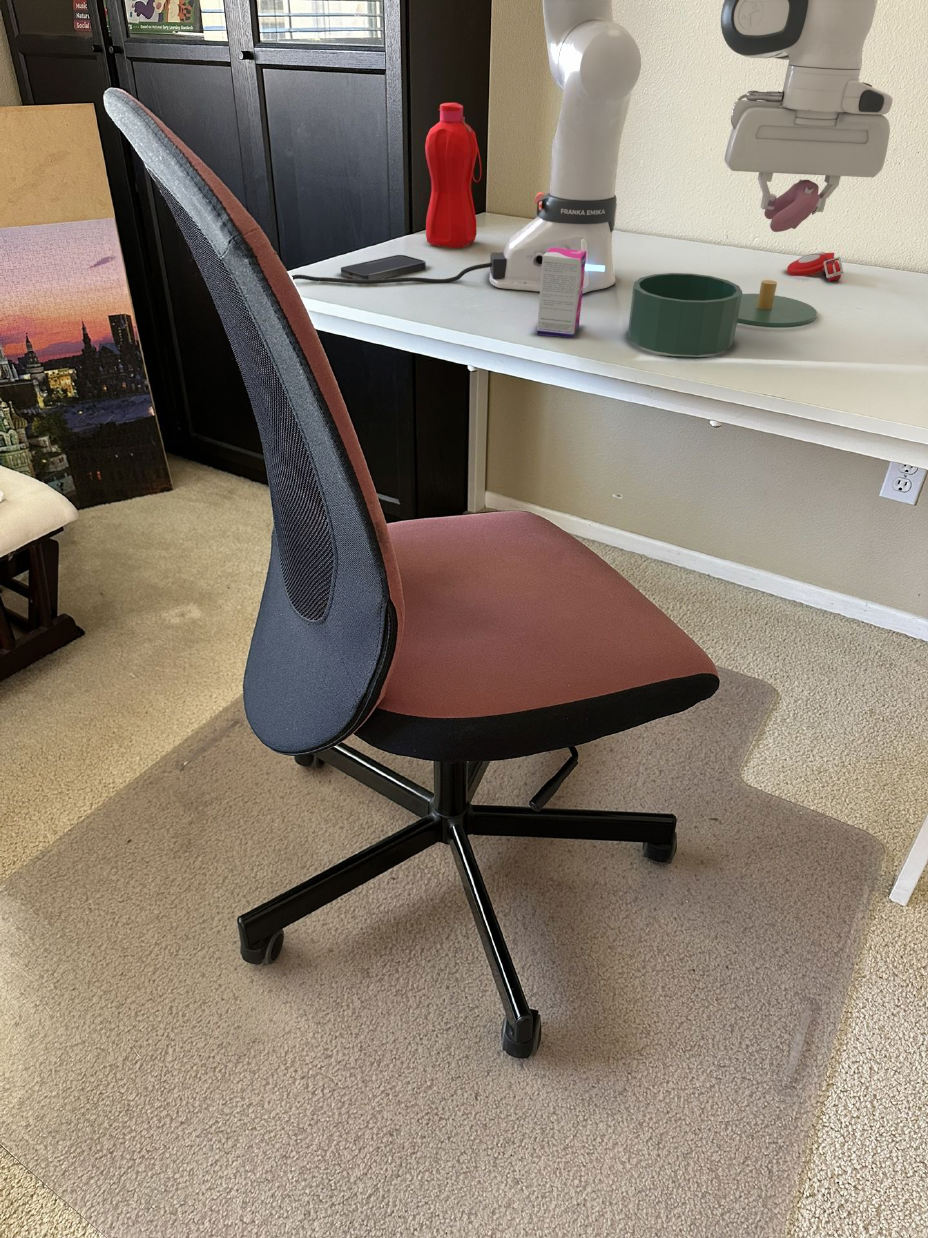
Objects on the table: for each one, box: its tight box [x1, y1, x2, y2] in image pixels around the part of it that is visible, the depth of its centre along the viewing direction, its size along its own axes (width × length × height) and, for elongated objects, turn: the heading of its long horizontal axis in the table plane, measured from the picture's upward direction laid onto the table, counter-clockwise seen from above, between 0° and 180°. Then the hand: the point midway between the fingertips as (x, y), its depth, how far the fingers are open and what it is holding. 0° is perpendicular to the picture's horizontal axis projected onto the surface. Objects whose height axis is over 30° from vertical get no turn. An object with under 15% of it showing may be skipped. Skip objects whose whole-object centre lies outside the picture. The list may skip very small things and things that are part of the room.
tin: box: [627, 272, 743, 360], centre depth 132 cm, size 15×15×8 cm
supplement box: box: [536, 248, 587, 339], centre depth 135 cm, size 6×6×12 cm
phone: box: [340, 254, 427, 280], centre depth 165 cm, size 8×1×15 cm
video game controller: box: [764, 178, 820, 233], centre depth 122 cm, size 10×5×7 cm, turn 170°
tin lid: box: [737, 279, 818, 328], centre depth 144 cm, size 16×16×5 cm
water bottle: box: [424, 102, 482, 249], centre depth 176 cm, size 9×11×25 cm
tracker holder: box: [786, 251, 845, 282], centre depth 164 cm, size 12×4×10 cm
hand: (791, 209), depth 123 cm, fingers closed on video game controller, 5 cm apart
